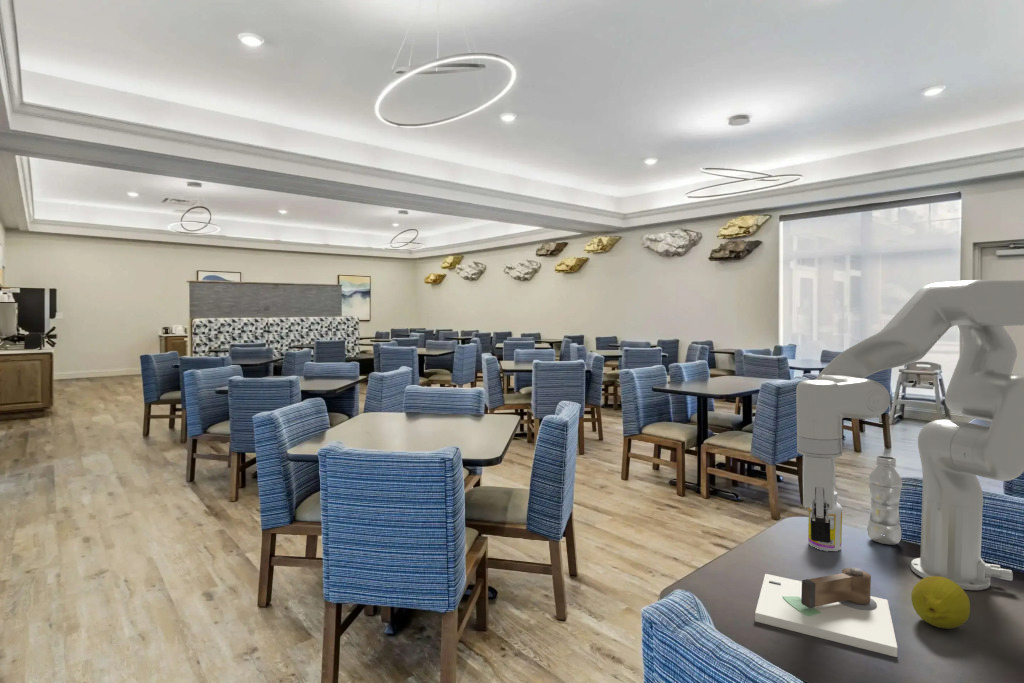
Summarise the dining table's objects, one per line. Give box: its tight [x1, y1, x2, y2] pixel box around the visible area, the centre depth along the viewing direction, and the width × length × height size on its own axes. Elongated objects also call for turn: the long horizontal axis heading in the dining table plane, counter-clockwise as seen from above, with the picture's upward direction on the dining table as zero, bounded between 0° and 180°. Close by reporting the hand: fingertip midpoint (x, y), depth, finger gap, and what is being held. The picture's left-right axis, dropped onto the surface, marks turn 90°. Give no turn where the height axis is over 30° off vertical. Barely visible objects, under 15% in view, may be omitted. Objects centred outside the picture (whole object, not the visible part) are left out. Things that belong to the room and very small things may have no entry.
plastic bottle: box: [866, 455, 903, 545], centre depth 128 cm, size 6×7×20 cm
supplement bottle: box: [807, 490, 843, 552], centre depth 126 cm, size 7×7×13 cm
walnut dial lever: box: [801, 567, 872, 608], centre depth 97 cm, size 14×4×5 cm, turn 109°
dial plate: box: [754, 573, 898, 658], centre depth 97 cm, size 20×17×2 cm
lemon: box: [910, 576, 971, 630], centre depth 93 cm, size 11×8×8 cm
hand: (820, 539), depth 106 cm, fingers closed
